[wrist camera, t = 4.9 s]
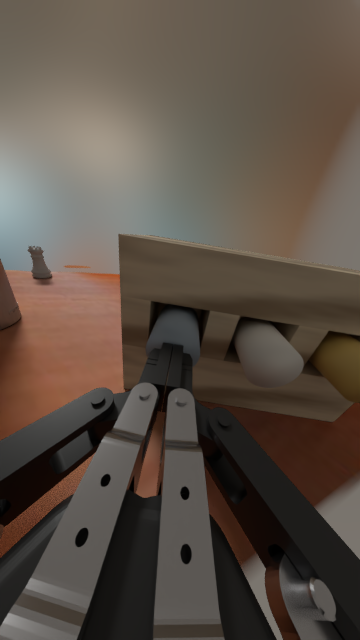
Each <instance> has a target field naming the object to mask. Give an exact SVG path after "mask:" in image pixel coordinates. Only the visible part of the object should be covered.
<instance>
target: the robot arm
mask: <svg viewBox="0 0 360 640" xmlns="http://www.w3.org/2000/svg"><path fill="white" fill-rule="evenodd" d="M20 318H21V313H20V310H19V306H18V304H17V302H16V299H15V297H14V294H13V291H12V289H11V286H10V283H9V281H8V278H7V275H6V273H5V270H4V267H3V265H2V262H1V259H0V329H3V328H6V327H8V326H10V325H12V324H14V323H15V322H17V321H18V320H19V319H20ZM172 347H173V351H172ZM183 347H184V346H183V345H177V344H174V345H173V344H171V343H165V342H163V344H162V347H161V349H157V348H154V349H153V350H152V351H151V352H150V353H149V356H148V359H147V361H146V364H145V366H144V369H143V372H142V374H141V377H140V380H139V382H138V384H137V385H136V386H135V387H134V388H133V389H132V390H130V391H128V392H124V393H117V394H113V393H112V391H111V390H109V389H107V388H97V389H94V390H92V391H90V392H88V393H86V394H85V395H83V396H81V397H79V398H77V399H75V400H74V401H72V402H70V403H68V404H66V405H65V406H63V407H61V408H59V409H57V410H55V411H54V412H52V413H50V414H48V415H46V416H45V417H43V418H41V419H39V420H37V421H35V422H34V423H32V424H30V425H28V426H26V427H24V428H23V429H21V430H19V431H17V432H15V433H14V434H12V435H10V436H8V437H6V438H4V439H3V440H1V441H0V539H1V536H2V533H3V529H4V527H5V526H6V525H8V524H9V523H10V522H11V521H13V520H14V519H15V518H16V517H17V516H19V515H20V514H21V513H22V512H23V511H25V510H26V509H27V508H28V507H30V506H31V505H32V504H33V503H34V502H36V501H37V500H38V499H39V498H40V497H42V496H43V495H44V494H45V493H47V492H48V491H49V490H50V489H51V488H53V487H54V486H55V485H56V484H58V483H59V482H60V481H61V480H62V479H64V478H65V477H66V476H67V475H68V474H70V473H71V472H72V471H73V470H75V469H76V468H77V467H78V466H79V465H81V464H82V463H83V462H84V461H85V460H87V459H88V458H89V457H90V456H92V455H93V454H94V453H95V452H96V453H95V455H94V457H93V459H92V461H91V462H90V464H89V466H88V468H87V470H86V472H85V474H84V476H83V478H82V480H81V482H80V484H79V486H78V488H77V490H76V491H75V493H74V494H73V495H71V496H69V497H68V498H66V499H65V500H63V501H62V502H61V503H60V504H58V505H57V506H56V507H55V508H53V509H52V510H51V511H50V512H49V513H48V514H47V515H46V516H45V517H44V518H43V519H42V520H40V521H39V522H38V523H37V524H36V525H35V526H34V527H33V528H32V529H31V530H30V531H29V532H28V533H27V534H26V535H25V536H23V537H22V538H21V539H20V540H19V541H18V542H17V543H16V544H15V545H14V546H13V547H12V548H11V549H10V550H9V551H7V552H6V553H5V554H4V555H3V556H2V557H1V558H0V640H277V639H276V637H275V636H274V633H273V632H272V629H271V627H270V625H269V623H268V622H267V619H266V617H265V615H264V613H263V611H262V609H261V607H260V605H259V603H258V601H257V599H256V597H255V595H254V593H253V591H252V589H251V587H250V585H249V583H248V581H247V579H246V577H245V575H244V573H243V571H242V569H241V567H240V565H239V563H238V561H237V559H236V557H235V555H234V553H233V551H232V549H231V547H230V545H229V543H228V541H227V539H226V537H225V535H224V533H223V532H222V530H221V528H220V527H219V525H218V524H217V522H216V521H215V520H214V519H213V517H212V516H211V515H210V514H209V509H208V499H207V490H206V480H205V470H204V465H205V466H206V468H207V470H208V471H209V473H210V475H211V476H212V478H213V480H214V482H215V483H216V485H217V487H218V488H219V490H220V492H221V493H222V495H223V497H224V498H225V500H226V502H227V504H228V505H229V507H230V509H231V510H232V512H233V514H234V515H235V517H236V519H237V520H238V522H239V524H240V525H241V527H242V529H243V531H244V532H245V534H246V536H247V537H248V539H249V541H250V542H251V544H252V546H253V547H254V549H255V551H256V553H257V554H258V556H259V558H260V559H261V561H262V563H263V564H264V566H265V568H266V572H265V587H266V594H267V599H268V602H269V606H270V609H271V611H272V614H273V617H274V618H275V621H276V623H277V625H278V628H279V630H280V632H281V635H282V638H283V640H360V560H359V558H358V557H357V556H356V555H355V554H354V553H353V552H352V550H351V549H350V548H349V547H348V546H347V545H346V544H345V542H344V541H343V540H342V539H341V538H340V537H339V536H338V534H337V533H336V532H335V531H334V530H333V529H332V528H331V526H330V525H329V524H328V523H327V522H326V521H325V520H324V518H323V517H322V516H321V515H320V514H319V513H318V512H317V510H316V509H315V508H314V507H313V506H312V505H311V504H310V503H309V501H308V500H307V499H306V498H305V497H304V496H303V495H302V493H301V492H300V491H299V490H298V489H297V488H296V487H295V485H294V484H293V483H292V482H291V481H290V480H289V479H288V477H287V476H286V475H285V474H284V473H283V472H282V471H281V469H280V468H279V467H278V466H277V465H276V464H275V463H274V461H273V460H272V459H271V458H270V457H269V456H268V455H267V453H266V452H265V451H264V450H263V449H262V448H261V447H260V445H259V444H258V443H257V442H256V441H255V440H254V439H253V438H252V436H251V435H250V434H249V433H248V432H247V431H246V430H245V428H244V427H243V426H242V425H241V424H240V423H239V422H238V420H237V419H236V418H235V417H234V416H233V415H232V414H231V413H230V412H229V411H228V410H226V409H224V408H220V407H217V408H214V409H212V410H210V409H208V408H206V407H204V406H203V405H201V404H200V403H198V402H197V401H196V399H195V398H194V396H193V391H192V380H193V372H192V371H193V367H192V366H193V359H192V357H191V355H190V354H187V353H183ZM171 353H172V357H171ZM170 359H171V362H170ZM169 365H170V368H169ZM168 371H169V373H168ZM167 376H168V379H167ZM166 381H167V384H166ZM165 387H166V390H165ZM164 392H165V397H164ZM163 398H164V403H163ZM162 403H163V409H162ZM161 409H162V412H165V418H164V424H163V431H162V443H161V454H160V465H159V474H158V483H157V492H156V496H153V497H148V498H142V497H140V496H139V495H137V494H136V491H137V487H138V483H139V479H140V475H141V470H142V466H143V462H144V458H145V455H146V451H147V448H148V444H149V441H150V437H151V434H152V430H153V426H154V423H155V421H156V416H157V411H160V412H161Z"/></svg>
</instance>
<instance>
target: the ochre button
mask: <svg viewBox="0 0 360 640" xmlns="http://www.w3.org/2000/svg"><path fill="white" fill-rule="evenodd" d="M308 360H309V361H310V362H311V363H312V364H313V365H314V366H315V367H316V368H317V369H318V371H319V372H320V373H321V374H322V375H323V376H324V377H325V378H326V379H327V380H328V381H329V382H330V383H331V384H332V385H333V386H334V387H335V389H336V390H337V391H338V392H339V393H340V394H341V395H342V396H343V397H344V398H345V399H346V400H348V401H351V402H355V403H360V342H359V341H358V340H356V339H355V338H353V337H351V336H350V335H348V334H347V333H341V332H335V331H328V333H327V334H326V336H325V337H324V338H323V340H322V341H321V343H320V344H319V345H318V347H317V348H316V350H315V351H314V352H313V354H312V355H311V357H310V358H309V359H308Z"/></svg>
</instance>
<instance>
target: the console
mask: <svg viewBox="0 0 360 640" xmlns="http://www.w3.org/2000/svg"><path fill="white" fill-rule="evenodd" d="M119 263H120V293H121V321H122V350H123V379H124V388H125V389H131V390H132V389H133V388H134V387H135V386H136V385H137V384H138V382H139V380H140V377H141V374H142V372H143V369H144V366H145V364H146V361H147V359H148V357H147V355H146V344H147V342H148V339H149V337H150V335H151V332H152V330H153V328H154V325H155V323H156V321H157V318H158V316H159V314H160V312H161V310H162V309H163V308H164V307H165V306H166V305H168V304H173V305H179V306H185V307H191V308H193V309H194V310H195V312H196V313H197V316H198V326H199V341H200V358H199V360H198V362H197V363H196V365H195V366H194V367H193V371H192V372H193V380H192V391H193V396H194V398H195V399H196V400H199V401H205V402H211V403H217V404H223V405H230V406H236V407H242V408H248V409H254V410H260V411H267V412H273V413H279V414H285V415H291V416H297V417H304V418H310V419H316V420H322V421H328V422H334V421H335V420H336V419H337V418H338V417H339V416H340V415H342V414H343V413H344V412H345V411H346V410H347V409H348V408H349V407H350V406H351V405H352V404H354V403H355V402H351V401H348V400H346V399H345V398H344V397H343V396H342V395H341V394H340V393H339V392H338V391H337V390H336V389H335V387H334V386H333V385H332V384H331V383H330V382H329V381H328V380H327V379H326V378H325V377H324V376H323V375H322V374H321V373H320V372H319V371H318V369H317V368H316V367H315V366H314V365H313V364H312V363H311V362H310V361H309V360H308V359H309V358H310V357H311V355H312V354H313V352H314V351H315V350H316V348H317V347H318V345H319V344H320V343H321V341H322V340H323V338H324V337H325V336H326V334H327V333H328V331H335V332H341V333H347V334H348V335H350V336H351V337H353V338H355V339H356V340H358V341H359V342H360V271H357V270H352V269H348V268H341V267H336V266H330V265H324V264H318V263H312V262H305V261H300V260H294V259H288V258H283V257H277V256H271V255H265V254H258V253H253V252H247V251H241V250H235V249H229V248H223V247H217V246H211V245H206V244H200V243H194V242H187V241H182V240H176V239H170V238H164V237H159V236H152V235H128V234H119ZM244 317H251V318H257V319H263V320H269V321H270V322H271V324H272V325H273V326H274V327H275V328H276V329H277V330H278V331H279V332H280V333H281V335H282V336H283V337H284V338H285V339H286V340H287V341H288V342H289V343H290V344H291V345H292V347H293V348H294V349H295V350H296V351H297V352H298V353H299V354H300V355H301V357H302V359H303V362H304V366H303V369H302V372H301V373H300V375H299V376H298V377H297V378H296V379H294V380H293V381H292V382H290V383H288V384H286V385H283V386H280V387H275V388H263V387H258V386H256V385H254V384H252V383H251V382H249V380H248V379H247V378H246V375H245V372H244V370H243V367H242V365H241V362H240V359H239V357H238V354H237V352H236V349H235V346H234V344H233V341H232V336H233V334H234V331H235V328H236V326H237V323H238V321H239V320H240V319H242V318H244ZM168 373H169V372H168ZM167 379H168V376H167ZM166 384H167V381H166ZM165 390H166V387H165ZM164 395H165V392H164Z"/></svg>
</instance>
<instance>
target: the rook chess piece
mask: <svg viewBox="0 0 360 640" xmlns="http://www.w3.org/2000/svg"><path fill="white" fill-rule="evenodd" d="M28 251H29V252H30V253H31V257H32V260H33V269H32V271H31V272H32V273H33V275H32V276H33V277H35V278H42V279H43V278H50V277H51V276H52V274H50V273H51V271H50V270H49V269H48V268H47V266H46V264H45V262H44V259H43V258H44V257H43V255H42V253H43V250H41V247H37V248H35V246H33V247H31V246H29V249H28Z"/></svg>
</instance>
